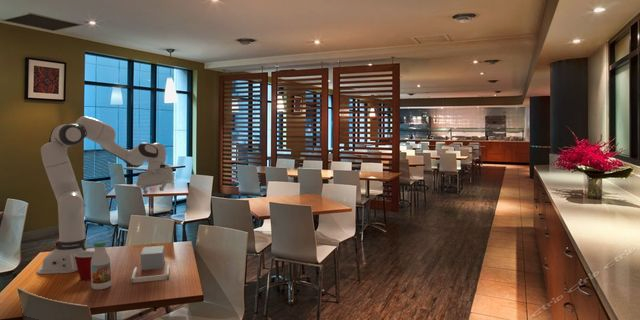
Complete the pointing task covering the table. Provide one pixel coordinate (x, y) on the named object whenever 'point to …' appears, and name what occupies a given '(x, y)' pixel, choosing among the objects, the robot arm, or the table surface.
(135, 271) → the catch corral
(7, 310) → the table surface
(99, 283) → the milk bottle
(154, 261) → the slate block
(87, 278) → the plastic cup
